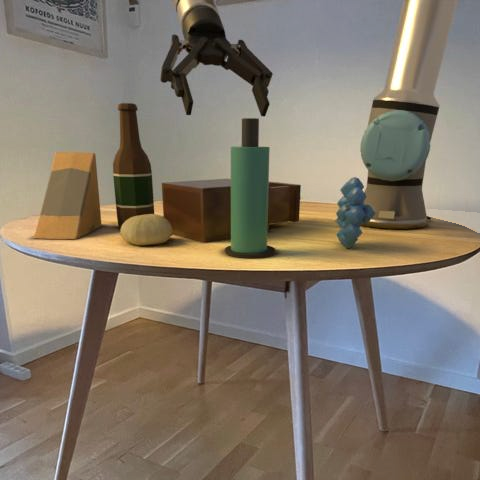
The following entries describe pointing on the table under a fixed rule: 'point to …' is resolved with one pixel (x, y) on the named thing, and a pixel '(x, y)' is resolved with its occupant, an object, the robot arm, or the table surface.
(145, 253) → the table surface
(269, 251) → the mat
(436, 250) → the table surface
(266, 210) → the soap bottle
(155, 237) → the sea urchin shell
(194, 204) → the cabinet
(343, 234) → the grapes
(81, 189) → the sandwich container
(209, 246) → the table surface
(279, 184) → the drawer
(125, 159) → the beer bottle
